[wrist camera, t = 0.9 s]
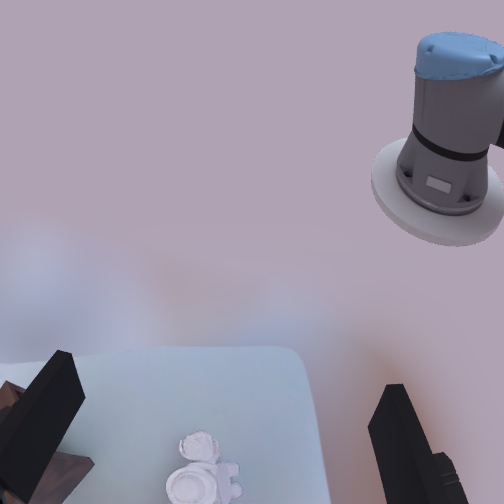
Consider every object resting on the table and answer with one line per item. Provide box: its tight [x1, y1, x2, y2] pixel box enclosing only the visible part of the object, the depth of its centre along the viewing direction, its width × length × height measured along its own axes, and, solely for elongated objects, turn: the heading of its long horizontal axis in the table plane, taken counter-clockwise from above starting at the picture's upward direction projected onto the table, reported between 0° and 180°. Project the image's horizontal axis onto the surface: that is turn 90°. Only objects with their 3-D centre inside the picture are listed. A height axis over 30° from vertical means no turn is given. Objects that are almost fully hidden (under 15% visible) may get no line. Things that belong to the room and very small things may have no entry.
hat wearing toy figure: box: [166, 431, 243, 504], centre depth 21 cm, size 9×4×12 cm, turn 5°
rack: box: [0, 381, 95, 504], centre depth 24 cm, size 14×12×10 cm
